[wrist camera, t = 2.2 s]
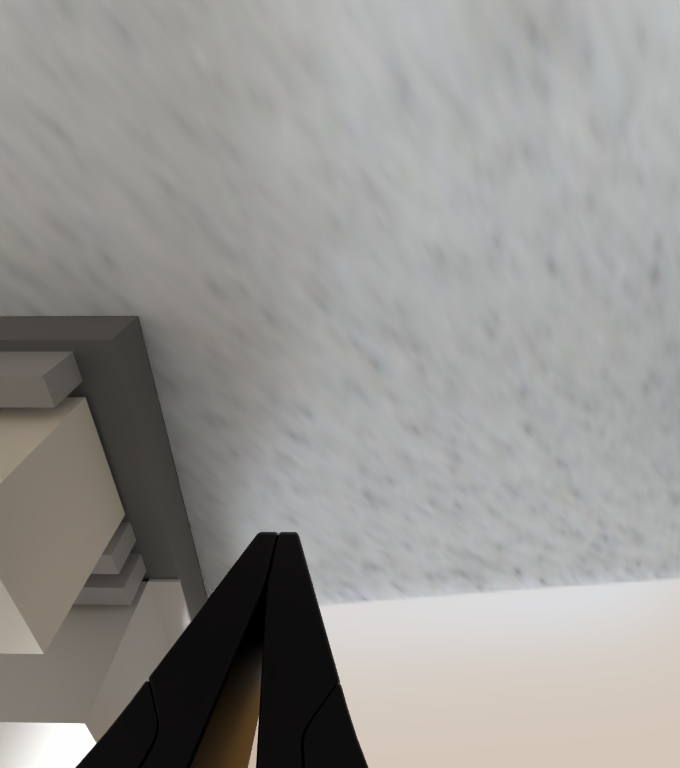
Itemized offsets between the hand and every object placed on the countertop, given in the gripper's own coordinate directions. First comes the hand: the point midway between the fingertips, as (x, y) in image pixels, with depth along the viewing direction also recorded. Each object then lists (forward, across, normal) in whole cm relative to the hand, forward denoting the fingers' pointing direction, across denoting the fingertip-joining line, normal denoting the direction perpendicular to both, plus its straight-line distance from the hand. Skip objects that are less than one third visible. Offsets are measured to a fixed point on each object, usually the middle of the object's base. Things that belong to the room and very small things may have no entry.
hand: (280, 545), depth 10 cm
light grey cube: (+3, +7, +7) cm, 10 cm away
